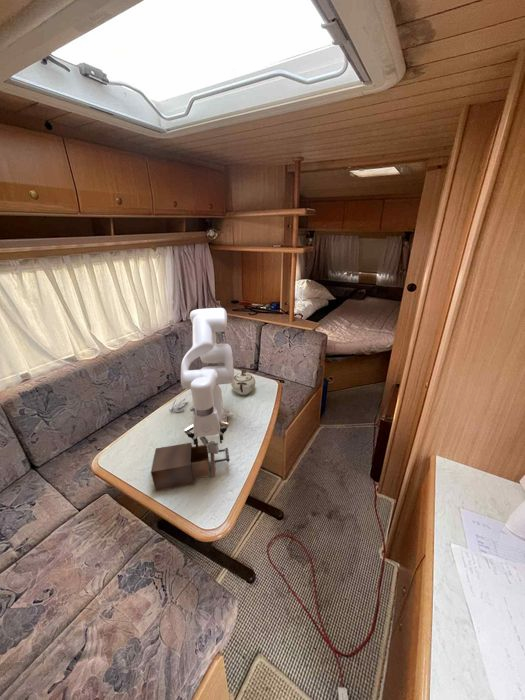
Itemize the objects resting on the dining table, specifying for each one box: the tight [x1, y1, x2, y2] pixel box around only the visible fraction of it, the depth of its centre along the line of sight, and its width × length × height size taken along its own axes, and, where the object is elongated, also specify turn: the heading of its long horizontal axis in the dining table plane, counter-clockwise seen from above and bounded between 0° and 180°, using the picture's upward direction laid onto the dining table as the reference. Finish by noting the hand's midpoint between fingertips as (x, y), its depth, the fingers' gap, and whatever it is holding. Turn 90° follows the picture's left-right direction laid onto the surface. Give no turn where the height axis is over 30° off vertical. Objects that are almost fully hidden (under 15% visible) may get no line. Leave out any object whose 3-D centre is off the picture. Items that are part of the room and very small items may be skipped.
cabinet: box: [150, 442, 195, 492], centre depth 112 cm, size 15×13×10 cm
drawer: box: [191, 444, 230, 480], centre depth 114 cm, size 20×11×8 cm, turn 102°
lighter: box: [198, 436, 220, 455], centre depth 111 cm, size 7×2×8 cm, turn 79°
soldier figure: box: [168, 398, 189, 413], centre depth 156 cm, size 8×5×12 cm
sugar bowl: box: [230, 369, 256, 396], centre depth 169 cm, size 20×15×15 cm
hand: (209, 443), depth 111 cm, fingers open, 9 cm apart
